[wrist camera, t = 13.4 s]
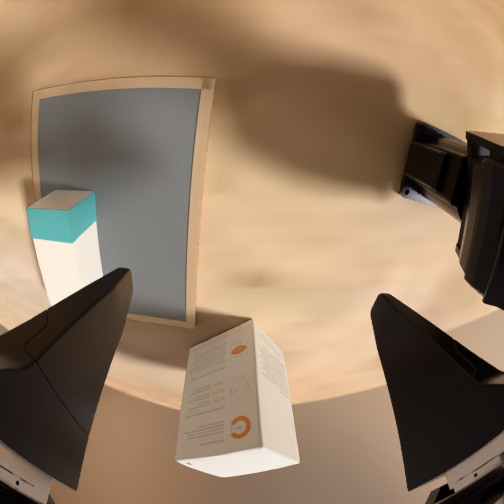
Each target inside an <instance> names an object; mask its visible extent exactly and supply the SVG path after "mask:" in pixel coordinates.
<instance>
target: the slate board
mask: <svg viewBox="0 0 504 504" xmlns="http://www.w3.org/2000/svg"><path fill="white" fill-rule="evenodd" d="M215 86H216V79H213V78H198V77H131V78H116V79H105V80H96V81H87V82H80V83H74V84H67V85H62V86H56V87H51V88H46V89H42V90H37V91H33V101H32V123H31V147H32V169H33V182H34V192H35V200H36V202H37V201H38V200H40V199H41V198H43V197H45V196H46V195H48V194H49V193H51V192H53V191H54V190H74V191H95V204H96V217H97V220H96V223H97V234H98V243H99V251H100V258H101V265H102V272H103V276H104V275H106V274H108V273H110V272H111V271H113V270H115V269H117V268H119V267H123V268H129V269H130V270H131V273H132V282H133V295H132V299H131V302H130V306H129V310H128V313H127V317H126V319H130V320H136V321H142V322H148V323H154V324H161V325H168V326H175V327H183V328H190V329H195V322H196V290H197V268H198V250H199V235H200V221H201V208H202V196H203V185H204V174H205V165H206V155H207V146H208V138H209V129H210V122H211V114H212V106H213V99H214V92H215Z"/></svg>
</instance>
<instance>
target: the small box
mask: <svg viewBox="0 0 504 504" xmlns="http://www.w3.org/2000/svg"><path fill="white" fill-rule="evenodd" d="M175 461H177V462H179V463H182V464H183V465H186V466H188V467H191V468H194V469H197V470H199V471H203V472H205V473H209V474H212V475H216V476H219V477H230V476H237V475H244V474H250V473H256V472H262V471H267V470H271V469H276V468H281V467H285V466H289V465H293V464H298V463H299V462H300V460H299V453H298V446H297V440H296V432H295V425H294V419H293V412H292V406H291V399H290V393H289V386H288V380H287V374H286V368H285V362H284V355H283V352H282V350H281V349H280V348H279V347H278V346H277V345H276V344H275V343H274V342H273V341H272V340H271V339H270V338H269V337H268V336H267V335H266V333H265V332H264V331H263V330H262V329H261V328H260V327H259V326H258V325H257V324H256V323H255V322H254V320H252V319H251V320H249V321H247V322H245V323H243V324H241V325H239V326H237V327H235V328H233V329H231V330H228V331H226V332H224V333H222V334H220V335H218V336H216V337H213V338H211V339H209V340H207V341H205V342H203V343H200V344H198V345H196V346H194V347H191V348H190V349H189V356H188V363H187V369H186V376H185V383H184V391H183V398H182V405H181V413H180V422H179V431H178V439H177V449H176V458H175Z"/></svg>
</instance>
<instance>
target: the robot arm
mask: <svg viewBox="0 0 504 504" xmlns="http://www.w3.org/2000/svg"><path fill="white" fill-rule="evenodd" d="M421 126H423V129H422V130H421ZM466 139H467V143H465V142H463V141H461V140H459V139H457V138H456V137H454V136H452V135H450V134H448V133H446V132H444V131H442V130H440V129H438V128H436V127H433V126H431V125H429V124H427V123H425V122H420V121H419V122H417V123H416V126H415V131H414V136H413V140H412V143H411V146H410V150H409V154H408V158H407V162H406V166H405V170H404V172H405V173H404V176H403V180H402V183H401V187H400V194H401V196H403V197H404V198H407V199H411V200H415V201H418V202H422V203H425V204H429V205H432V206H436V207H439V208H441V209H443V210H444V211H446V212H447V213H448V214H450V215H451V216H453V217H454V218H455V219H457V220H458V221H459V222H461V228H460V234H459V240H458V243H457V244H456V249H455V251H456V253H457V255H458V257H459V262H460V265H461V267H462V269H463V271H464V273H465V276H464V278H465V280H466V281H467V283H468V284H469V285H470V286H471V287H472V288H474V289H475V290H476V291H477V292H478V293H479V294H481V295H482V296H483V300H482V301H483V303H485V304H488V305H492V306H495V307H498V308H500V309H502V310H504V135H503V134H495V133H486V132H476V131H466ZM406 189H407V192H406V193H405V194H404V191H405V190H406ZM132 295H133V282H132V273H131V270H130V269H129V268H123V267H119V268H117V269H115V270H113V271H111V272H110V273H108V274H106V275H104V276H103V277H101V278H99V279H97V280H95V281H94V282H92V283H90V284H88V285H87V286H85V287H83V288H82V289H80V290H78V291H76V292H75V293H73V294H71V295H70V296H68V297H66V298H65V299H63V300H61V301H60V302H58V303H56V304H55V305H53V306H51V307H50V308H48V310H45V311H43V312H42V313H40V314H38V315H37V316H35V317H33V318H32V319H30V320H28V321H26V322H25V323H23V324H21V325H19V326H17V327H15V328H14V329H12V330H10V331H8V332H6V333H4V334H2V335H0V504H55V503H54V501H53V500H52V498H51V496H50V494H49V490H50V486H51V482H52V481H54V482H56V483H58V484H61V485H63V486H65V487H68V488H70V489H72V490H75V491H77V488H78V483H79V478H80V473H81V468H82V463H83V459H84V455H85V450H86V446H87V442H88V438H89V437H88V436H89V433H90V430H91V426H92V423H93V419H94V415H95V412H96V409H97V405H98V402H99V399H100V396H101V392H102V389H103V386H104V383H105V380H106V377H107V374H108V371H109V368H110V365H111V362H112V359H113V357H114V354H115V351H116V348H117V346H118V343H119V340H120V337H121V335H122V332H123V329H124V325H125V321H126V317H127V313H128V310H129V306H130V302H131V299H132ZM371 320H372V325H373V330H374V335H375V340H376V345H377V350H378V354H379V357H380V361H381V364H382V368H383V371H384V375H385V379H386V383H387V386H388V390H389V394H390V398H391V402H392V407H393V411H394V415H395V420H396V425H397V429H398V434H399V439H400V443H401V444H400V445H401V450H402V456H403V462H404V468H405V475H406V482H407V488H408V491H412V490H414V489H416V488H419V487H421V486H423V485H426V484H428V483H430V482H433V481H435V480H437V479H439V478H441V477H443V476H446V479H447V484H445V485H443V486H441V487H439V488H437V489H435V490H433V491H432V492H431V493H430V495H429V497H428V499H427V501H426V503H425V504H504V372H503V371H500V370H498V369H497V368H495V367H494V366H492V365H491V364H489V363H488V362H486V361H485V360H483V359H482V358H480V357H479V356H477V355H476V354H474V353H473V352H471V351H470V350H468V349H467V348H466V347H464V346H463V345H461V344H460V343H459V342H457V341H456V340H453V338H452V337H450V336H449V335H447V334H446V333H445V332H443V331H442V330H441V329H439V328H438V327H437V326H435V325H434V324H432V323H431V322H429V321H428V320H427V319H425V318H424V317H422V316H421V315H420V314H418V313H417V312H415V311H414V310H412V309H411V308H409V307H408V306H407V305H405V304H404V303H402V302H401V301H399V300H398V299H396V298H395V297H393V296H392V295H390V294H386V293H381V294H379V295H378V296H377V299H376V301H375V303H374V305H373V307H372V309H371Z"/></svg>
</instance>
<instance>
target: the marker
mask: <svg viewBox="0 0 504 504" xmlns="http://www.w3.org/2000/svg"><path fill="white" fill-rule="evenodd" d="M27 214H28V221H29V226H30V232H31V237H32V238H33V241H34V245H35V250H36V254H37V258H38V263H39V266H40V270H41V274H42V278H43V281H44V285H45V288H46V291H47V294H48V298H49V301H50V304H51V306H53V305H55V304H56V303H58V302H60V301H61V300H63V299H65V298H66V297H68V296H70V295H71V294H73V293H75V292H76V291H78V290H80V289H82V288H83V287H85V286H87V285H88V284H90V283H92V282H94V281H95V280H97V279H99V278H101V277H103V272H102V265H101V258H100V251H99V243H98V234H97V223H96V220H97V217H96V204H95V191H74V190H54V191H53V192H51V193H49V194H48V195H46V196H45V197H43V198H41V199H40V200H38V201H37V202H35V203H33V204H32V205H30V206H29V207H27Z"/></svg>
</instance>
